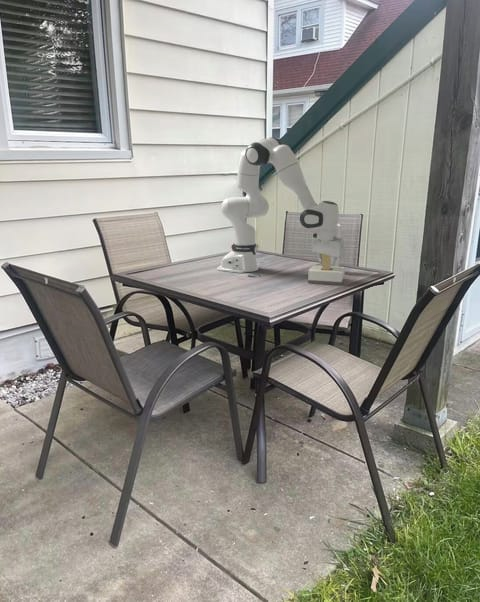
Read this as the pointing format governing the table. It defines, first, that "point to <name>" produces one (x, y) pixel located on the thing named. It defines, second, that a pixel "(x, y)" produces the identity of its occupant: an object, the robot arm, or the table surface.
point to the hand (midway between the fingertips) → (327, 263)
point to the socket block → (326, 275)
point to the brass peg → (325, 262)
